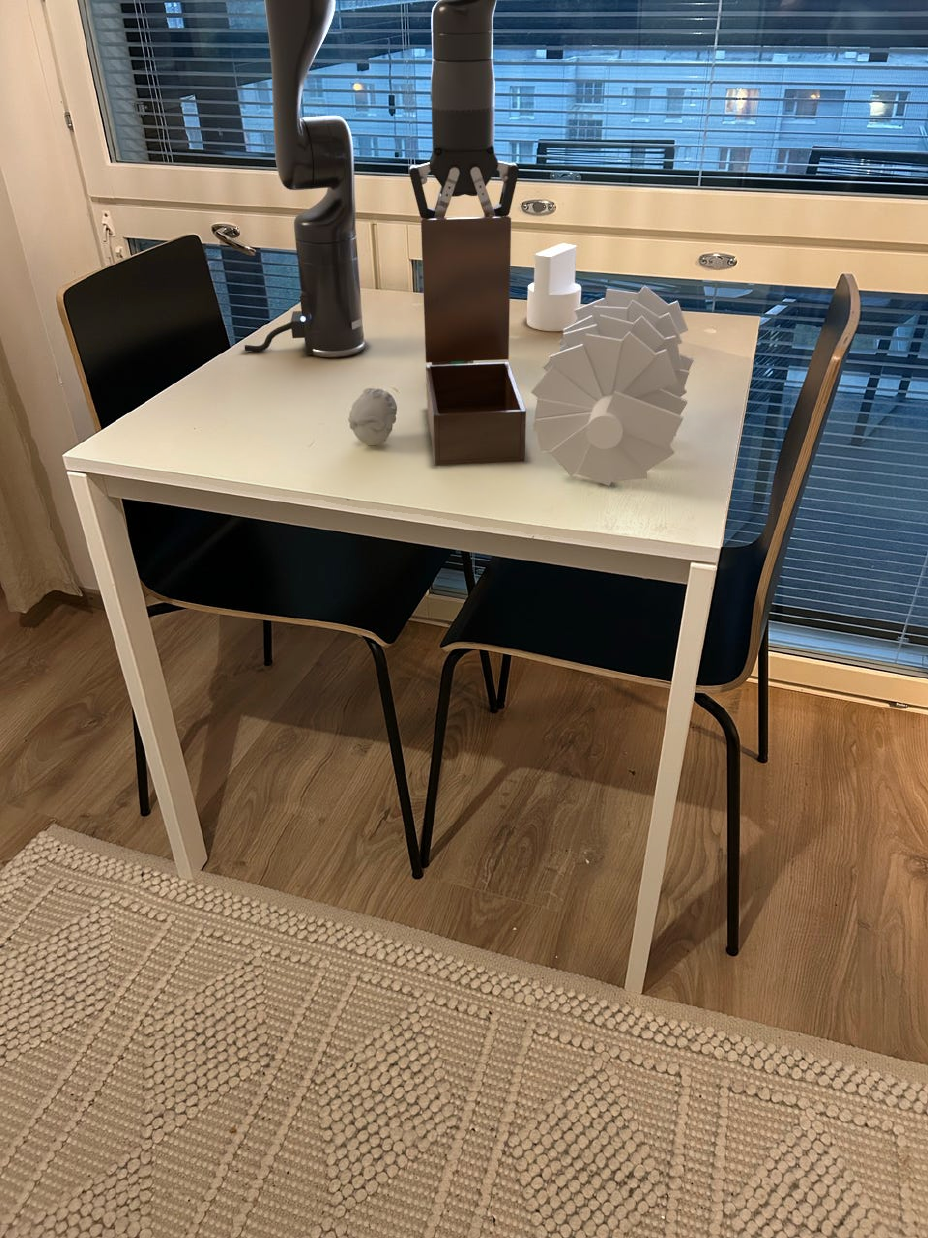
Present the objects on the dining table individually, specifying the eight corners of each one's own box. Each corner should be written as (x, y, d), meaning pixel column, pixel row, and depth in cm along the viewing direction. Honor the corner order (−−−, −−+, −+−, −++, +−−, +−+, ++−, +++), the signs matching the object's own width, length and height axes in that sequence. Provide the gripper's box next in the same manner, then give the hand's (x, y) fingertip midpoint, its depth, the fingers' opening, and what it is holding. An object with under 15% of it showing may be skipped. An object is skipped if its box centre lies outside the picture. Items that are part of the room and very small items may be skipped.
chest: (524, 461, 116) (526, 411, 112) (434, 465, 115) (433, 415, 112) (507, 407, 130) (508, 361, 126) (427, 411, 129) (425, 364, 126)
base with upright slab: (544, 311, 166) (547, 240, 159) (588, 320, 161) (593, 247, 154) (516, 324, 160) (518, 251, 153) (561, 334, 155) (565, 259, 148)
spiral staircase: (560, 519, 112) (588, 426, 131) (704, 476, 104) (711, 384, 123) (496, 385, 103) (536, 306, 122) (647, 327, 96) (665, 253, 115)
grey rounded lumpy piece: (408, 437, 122) (406, 386, 118) (378, 457, 117) (374, 405, 113) (371, 428, 125) (367, 378, 121) (339, 447, 120) (334, 395, 116)
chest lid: (511, 217, 115) (506, 209, 119) (421, 220, 115) (419, 211, 118) (508, 359, 126) (504, 347, 129) (425, 362, 125) (424, 351, 129)
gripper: (403, 108, 107) (410, 261, 117) (527, 105, 108) (523, 257, 118) (401, 100, 114) (408, 246, 123) (518, 97, 114) (515, 243, 124)
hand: (464, 251), depth 121 cm, fingers closed on chest lid, 5 cm apart
